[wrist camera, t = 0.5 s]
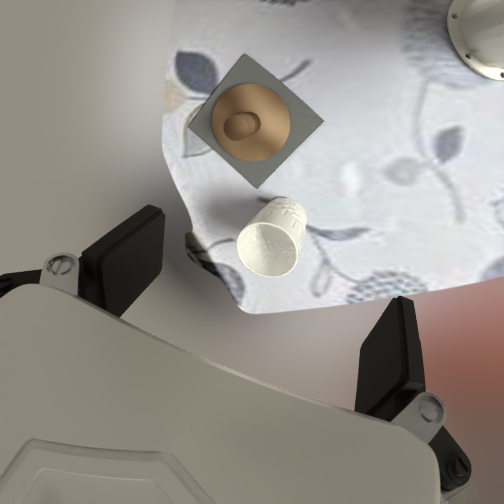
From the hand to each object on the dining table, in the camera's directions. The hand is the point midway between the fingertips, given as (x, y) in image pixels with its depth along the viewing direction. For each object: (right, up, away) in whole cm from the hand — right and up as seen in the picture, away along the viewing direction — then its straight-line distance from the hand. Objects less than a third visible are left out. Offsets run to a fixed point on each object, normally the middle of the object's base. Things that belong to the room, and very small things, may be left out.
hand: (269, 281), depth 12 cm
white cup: (+4, +6, +35) cm, 35 cm away
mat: (-1, +19, +28) cm, 34 cm away
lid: (-1, +19, +28) cm, 34 cm away
